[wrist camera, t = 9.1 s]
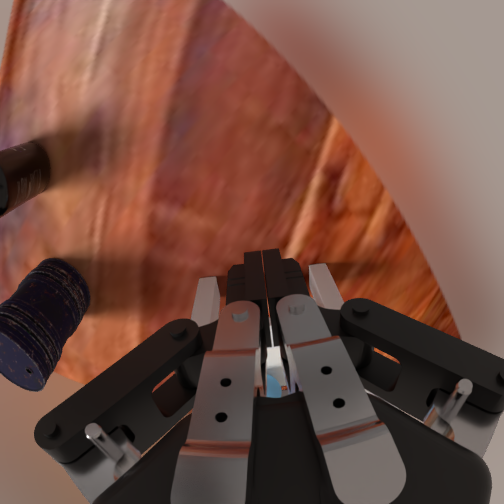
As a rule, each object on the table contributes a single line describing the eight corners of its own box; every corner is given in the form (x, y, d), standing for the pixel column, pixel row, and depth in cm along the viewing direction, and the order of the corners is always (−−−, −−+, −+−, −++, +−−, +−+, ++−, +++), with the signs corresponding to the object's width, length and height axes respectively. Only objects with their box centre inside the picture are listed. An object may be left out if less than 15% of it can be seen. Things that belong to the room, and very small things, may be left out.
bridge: (199, 278, 36) (188, 333, 27) (325, 263, 35) (349, 314, 27) (204, 298, 37) (195, 355, 28) (325, 284, 37) (346, 337, 28)
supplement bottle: (34, 129, 26) (-36, 150, 15) (61, 172, 29) (-5, 208, 18) (6, 164, 27) (-58, 195, 17) (31, 204, 30) (-28, 247, 20)
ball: (242, 389, 46) (239, 366, 43) (279, 386, 46) (279, 364, 43) (243, 419, 40) (240, 399, 38) (282, 416, 41) (284, 396, 38)
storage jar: (40, 306, 37) (-7, 374, 24) (31, 250, 33) (-33, 315, 20) (93, 323, 39) (54, 402, 25) (89, 266, 34) (32, 345, 21)
